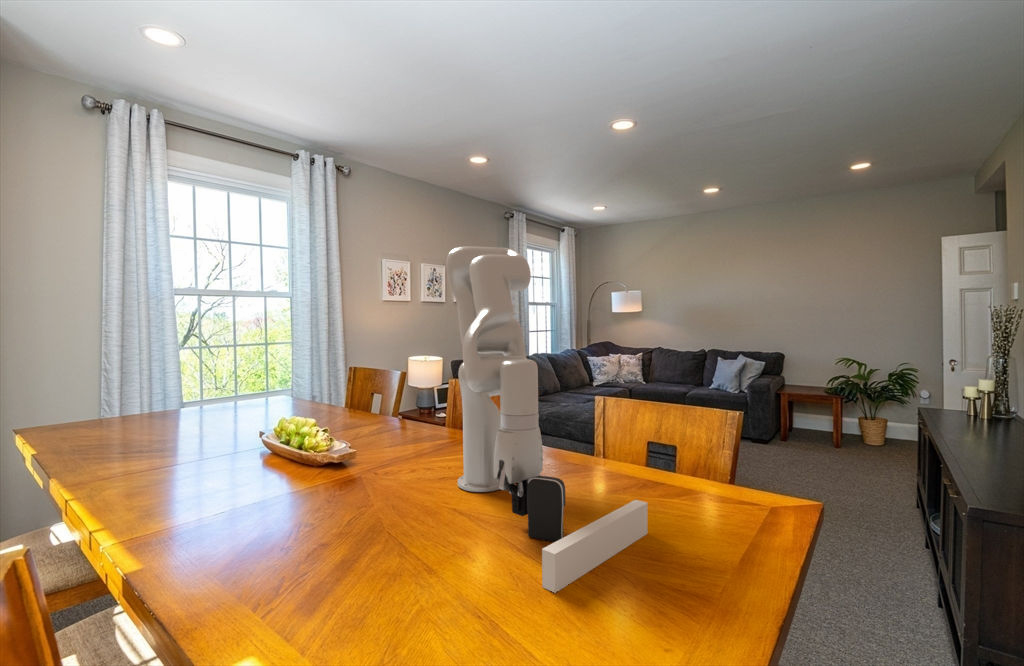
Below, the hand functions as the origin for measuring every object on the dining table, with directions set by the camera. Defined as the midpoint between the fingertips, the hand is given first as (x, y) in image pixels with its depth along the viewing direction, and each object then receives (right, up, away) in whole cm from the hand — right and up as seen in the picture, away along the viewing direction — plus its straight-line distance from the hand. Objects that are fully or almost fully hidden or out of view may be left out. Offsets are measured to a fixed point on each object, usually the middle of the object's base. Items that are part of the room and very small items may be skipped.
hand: (520, 513), depth 99 cm
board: (+14, -3, -13) cm, 19 cm away
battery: (+5, -3, -5) cm, 7 cm away
